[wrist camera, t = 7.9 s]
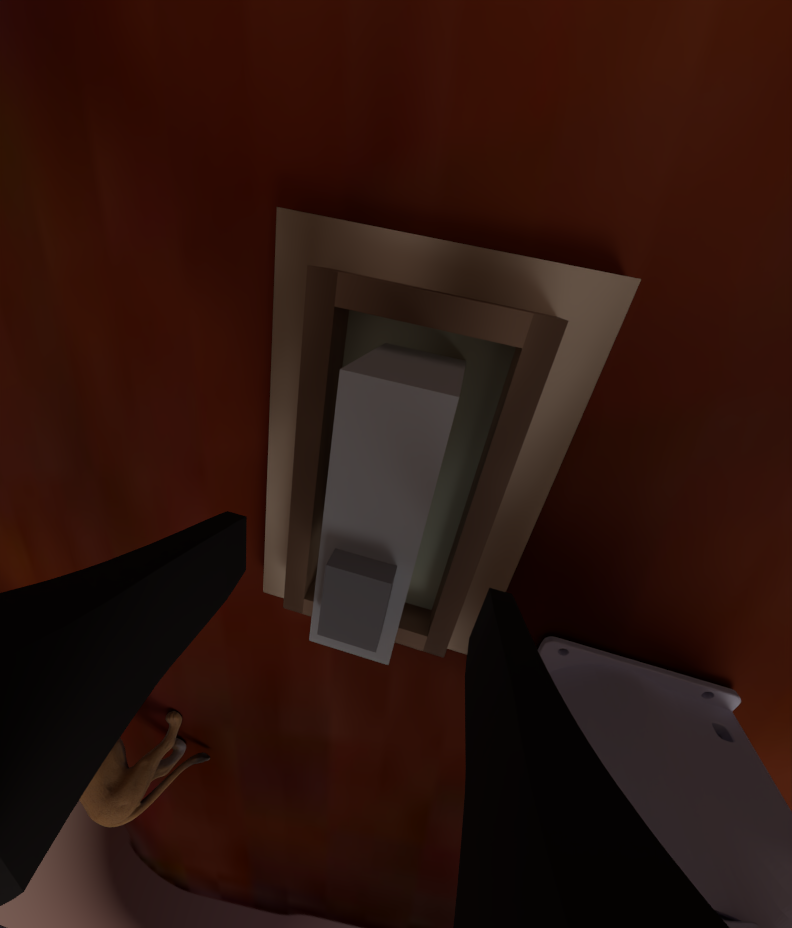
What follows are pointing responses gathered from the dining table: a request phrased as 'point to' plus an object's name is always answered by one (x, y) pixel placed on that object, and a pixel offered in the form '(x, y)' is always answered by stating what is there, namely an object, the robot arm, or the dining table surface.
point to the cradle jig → (478, 410)
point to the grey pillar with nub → (380, 492)
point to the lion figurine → (134, 778)
